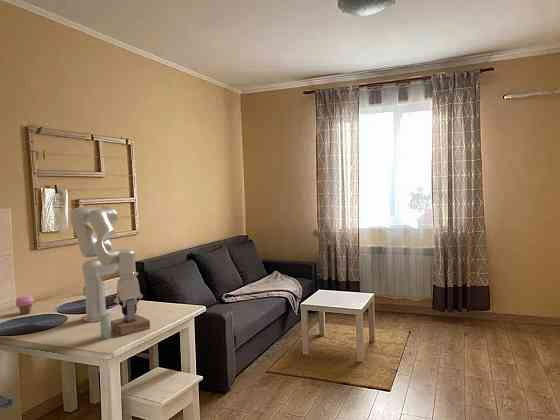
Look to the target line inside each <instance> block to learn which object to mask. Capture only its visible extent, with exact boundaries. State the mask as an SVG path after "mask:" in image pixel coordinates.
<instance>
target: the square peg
mask: <svg viewBox="0 0 560 420" xmlns="http://www.w3.org/2000/svg"><path fill="white" fill-rule="evenodd" d="M126 308H127V315H124V314H123V318H124V320H125V321H127V322H128V321H133V320H136V315H137V314H136V313H135V299H131V300H126Z"/></svg>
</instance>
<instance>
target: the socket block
mask: <svg viewBox="0 0 560 420" xmlns="http://www.w3.org/2000/svg"><path fill="white" fill-rule="evenodd" d="M135 315H136V320H133V321H128V322H127V321H125V320H124V317H122V318H116V319H111V332H112V331H113V332H115V333H116V334H118V335H119V336H121V337H122V336H127V335H130V334H134V333H138V332H141V331H145V330H149V329H151V320H150V319H147V318H145V317H143V316H141V315H139V314H135Z"/></svg>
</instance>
